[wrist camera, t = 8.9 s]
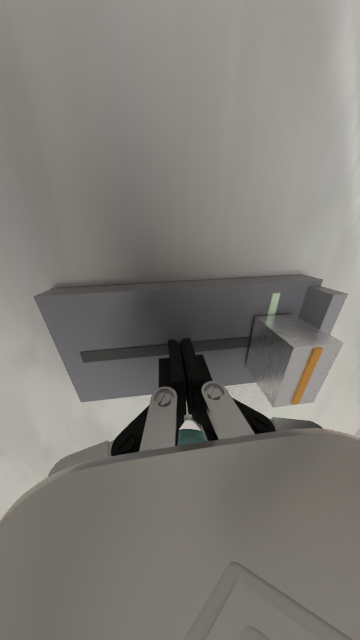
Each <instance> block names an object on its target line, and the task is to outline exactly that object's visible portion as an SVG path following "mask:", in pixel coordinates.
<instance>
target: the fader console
mask: <svg viewBox="0 0 360 640" xmlns="http://www.w3.org/2000/svg"><path fill="white" fill-rule="evenodd" d="M322 281H323V279H318V278H314V277H310V276H306V275H302V274H301V275H283V276H265V277H247V278H229V279H211V280H193V281H175V282H157V283H139V284H121V285H103V286H85V287H67V288H52V289H50V290H48V291H45V292H43V293H41V294H39V295H36V296H34V298H35V300H36V303H37V305H38V307H39V309H40V312H41V314H42V316H43V318H44V321H45V323H46V325H47V327H48V329H49V332H50V334H51V336H52V338H53V341H54V343H55V345H56V347H57V349H58V352H59V354H60V356H61V358H62V361H63V363H64V365H65V367H66V370H67V372H68V374H69V376H70V378H71V381H72V383H73V385H74V387H75V390H76V392H77V394H78V396H79V398H80V401H81V402H87V401H96V400H105V399H114V398H122V397H131V396H140V395H149V394H153V392H154V391H155V390H157V389H158V388H159V359H160V358H169V348H168V340H172V339H175V341H178V343H179V348H180V341H182V340H183V338H190V339H191V342H192V345H193V348H194V351H195V355H199V354H203V356H204V359H205V361H206V364H207V367H208V369H209V372H210V375H211V377H212V380H213V381H215V382H219V383H221V384H222V385H223V386H227V385H236V384H245V383H253V382H256V381H255V380H254V378H253V377H252V375H251V374H250V373H249V371H248V370H247V368H246V362H247V357H248V352H249V347H250V342H251V336H252V331H253V326H254V321H255V317H258V316H271V315H284V314H293V315H295V316H297V317H298V318H300V319H302V320H304V321H306V322H307V323H309V324H311V325H313V326H314V327H316V328H318V329H320V330H322V331H323V332H325V333H327V334H329V335H330V333H331V331H332V329H333V326H334V324H335V322H336V320H337V317H338V315H339V313H340V311H341V308H342V306H343V304H344V302H345V299H346V297H347V295H348V294H346V293H342V292H339V291H335V290H332V289H328V288H325V287H321V283H322ZM180 354H181V350H180Z"/></svg>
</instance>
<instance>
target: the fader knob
mask: <svg viewBox="0 0 360 640" xmlns="http://www.w3.org/2000/svg"><path fill="white" fill-rule="evenodd" d="M342 345H343V342H341V341H340V340H338V339H336V338H334V337H332V336H331V335H329V334H327V333H325V332H323V331H322V330H320V329H318V328H316V327H314V326H313V325H311V324H309V323H307V322H306V321H304V320H302V319H300V318H298V317H297V316H295V315H293V314H284V315H271V316H258V317H255V321H254V326H253V331H252V336H251V342H250V347H249V352H248V357H247V362H246V368H247V370H248V371H249V373H250V374H251V375H252V377H253V378H254V380H255V381H256V383H257V384H258V386H259V387H260V389H261V390H262V392H263V393H264V395H265V396H266V398H267V399H268V401H269V402H270V404H271V405H272V406H273V407H280V406H288V405H296V404H303V403H311V402H314V400H315V398H316V396H317V394H318V392H319V390H320V388H321V386H322V384H323V382H324V380H325V378H326V377H327V375H328V373H329V371H330V369H331V367H332V365H333V363H334V361H335V359H336V357H337V355H338V353H339V351H340V349H341V347H342Z"/></svg>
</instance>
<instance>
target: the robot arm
mask: <svg viewBox="0 0 360 640" xmlns="http://www.w3.org/2000/svg"><path fill="white" fill-rule="evenodd" d="M168 348H169V358H160V359H159V388H158V389H157V390H155V391H154V392H153V394H152V396H151V400H150V405H149V406H148V407H147V408H146V409H145V410H144V411H143V412H142V413H141V414H140V415H139V416H138V417H137V418H135V419H134V420H133V421H132V422H131V423H130V424H129V425H128V426H127V427H126V428H125V429H124V430H123V431H122V432H121V433H120V434H119V435H118V436H117V437H116V439H115V440H113V441H111V442H108V441H105V442H102V443H100V444H97V445H94V446H92V447H89V448H87V449H84V450H81V451H79V452H76V453H73V454H71V455H68V456H66V457H64V458H62V459H61V460H60V461H59V462H57V463H56V464H55V465H54V467H53V468H52V470H51V471H50V473H49V475H48V478H46V479H44V480H43V481H41V482H39V483H38V484H37V485H35V486H34V487H32V488H31V489H30V490H28V491H27V492H26V493H24V494H23V495H22V496H21V497H20V498H19V499H18V500H17V501H16V502H15V503H14V504H13V505H12V506H11V507H10V509H9V510H8V511H7V512H6V514H5V515H4V516H3V518H2V519H1V520H0V640H360V438H358V437H355V436H352V435H349V434H346V433H342V432H338V431H334V430H328V429H323V428H322V427H321V426H320V425H318V424H316V423H314V422H311V421H306V420H296V419H286V418H276V417H272V419H268V418H267V417H266V416H264V415H263V414H261V413H259V412H257V411H255V410H253V409H252V408H250V407H248V406H246V405H244V404H242V403H241V402H239V401H237V400H235V399H233V398H232V397H231V396H230V394H229V393H228V391H227V389H226V388H225V387H224V386H223V385H222V384H221V383H219V382H215V381H213V380H212V377H211V375H210V372H209V369H208V367H207V364H206V361H205V359H204V356H203V354H199V355H195V351H194V348H193V345H192V342H191V339H190V338H183V340H182V341H180V348H179V343H178V341H175V339H172V340H168ZM180 350H181V354H180ZM186 401H187V407H188V413H189V414H192V418H193V419H195V421H196V422H198V423H199V424H200V427H201V430H202V433H203V436H204V438H205V441H206V442H200V443H193V444H187V445H180V446H179V428H180V427H181V426H182V424H183V423H184V415H186Z"/></svg>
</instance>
